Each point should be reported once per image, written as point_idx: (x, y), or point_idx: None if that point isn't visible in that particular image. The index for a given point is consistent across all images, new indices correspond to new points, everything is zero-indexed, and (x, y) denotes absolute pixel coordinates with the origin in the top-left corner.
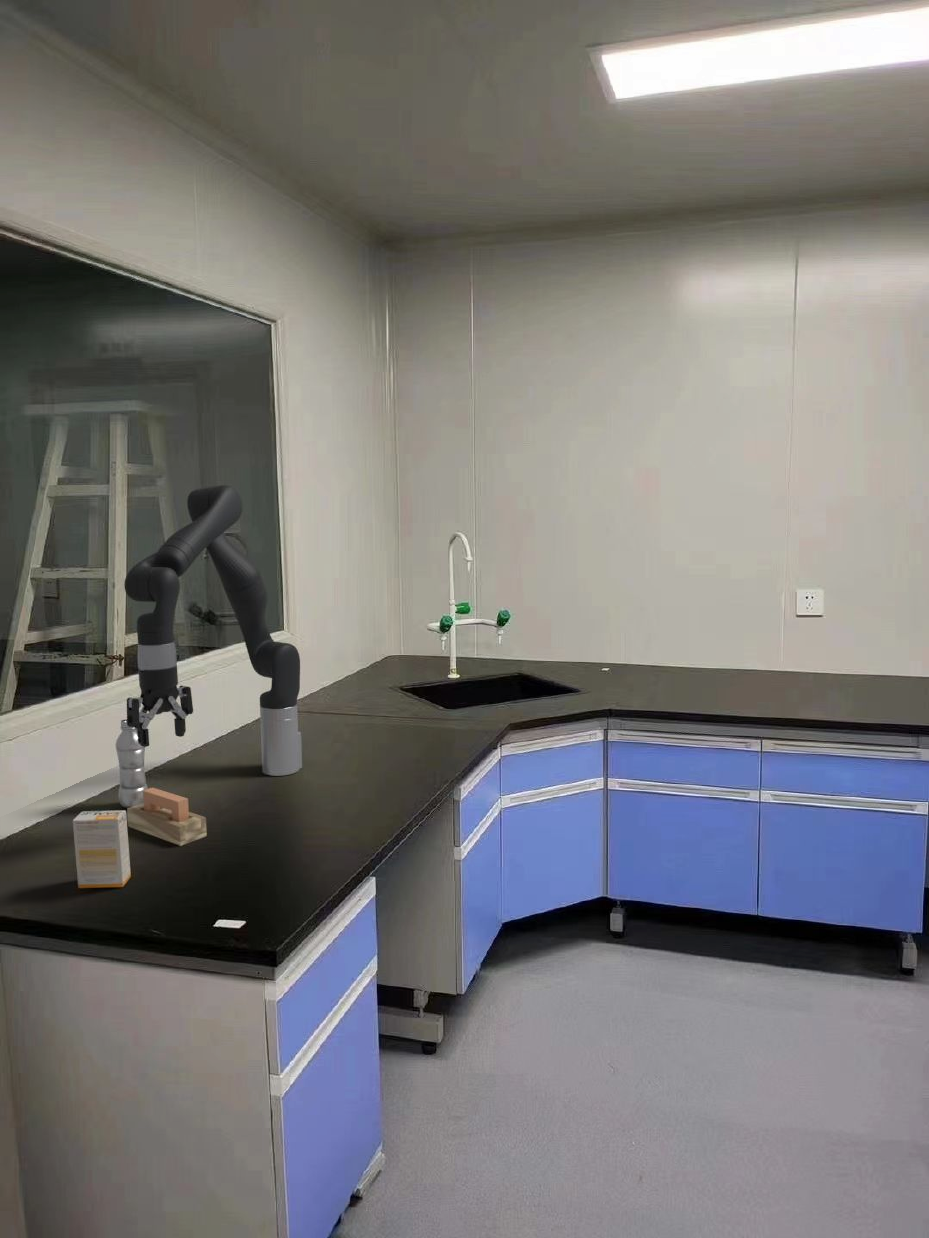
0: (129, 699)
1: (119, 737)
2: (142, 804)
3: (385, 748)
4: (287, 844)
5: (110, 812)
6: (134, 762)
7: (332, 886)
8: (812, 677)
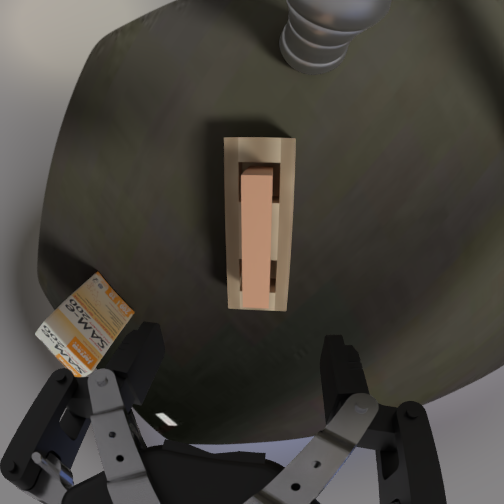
0: (13, 477)
1: None
2: (261, 143)
3: None
4: (318, 382)
5: (73, 360)
6: (315, 37)
7: (260, 440)
8: None
